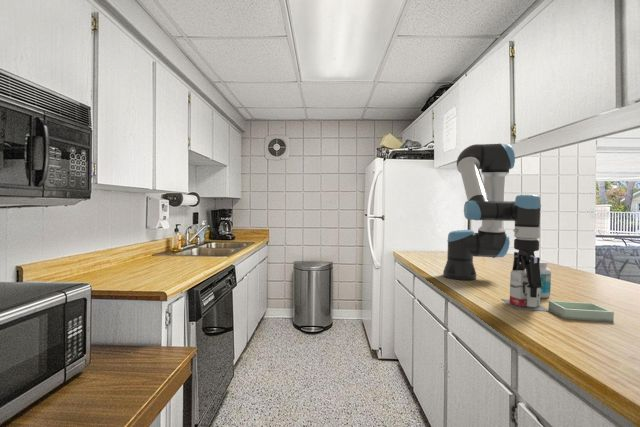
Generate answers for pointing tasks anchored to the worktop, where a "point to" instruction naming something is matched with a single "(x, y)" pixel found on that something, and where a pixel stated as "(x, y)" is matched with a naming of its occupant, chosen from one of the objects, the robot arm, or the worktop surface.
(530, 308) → the label
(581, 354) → the worktop surface
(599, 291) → the worktop surface
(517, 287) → the ink box
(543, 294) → the pill bottle
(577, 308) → the tray
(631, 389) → the worktop surface
